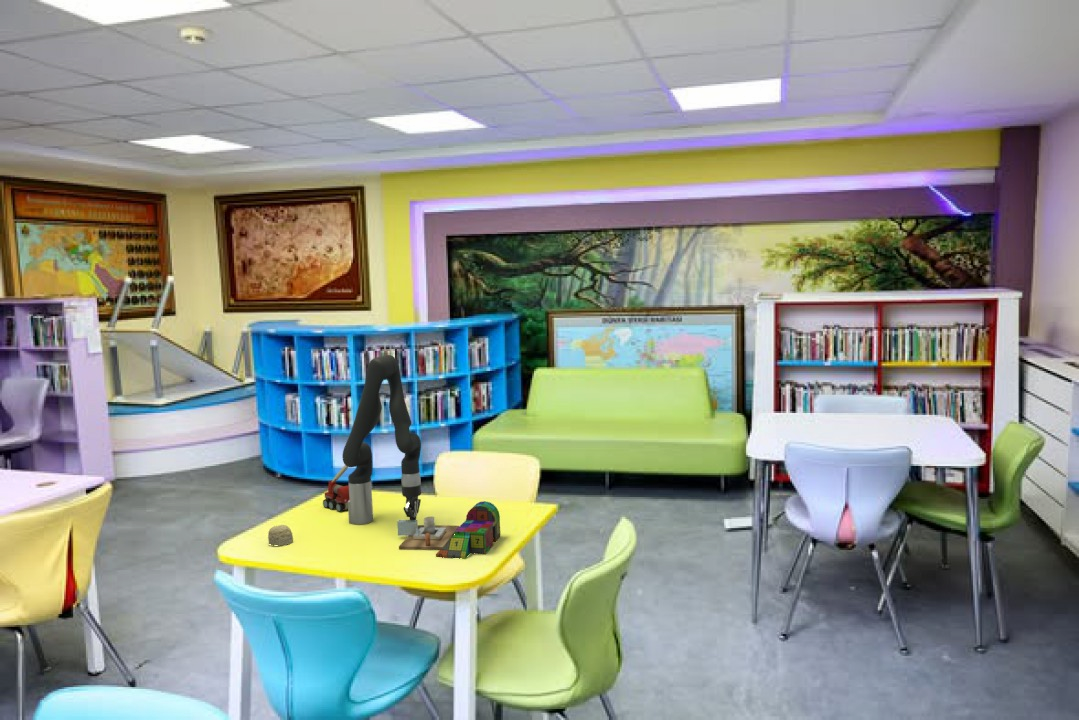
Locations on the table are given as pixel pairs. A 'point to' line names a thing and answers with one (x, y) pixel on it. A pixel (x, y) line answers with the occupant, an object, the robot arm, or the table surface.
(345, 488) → the toy fire truck
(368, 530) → the table surface
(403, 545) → the flange base
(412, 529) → the flange plate
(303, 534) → the table surface
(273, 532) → the brown rock
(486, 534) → the toy block train
